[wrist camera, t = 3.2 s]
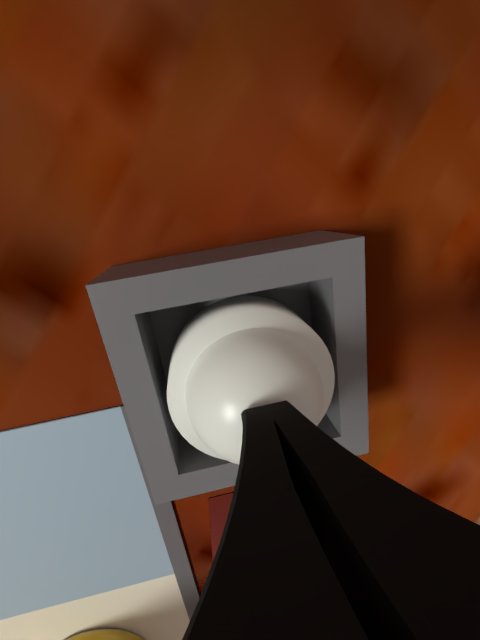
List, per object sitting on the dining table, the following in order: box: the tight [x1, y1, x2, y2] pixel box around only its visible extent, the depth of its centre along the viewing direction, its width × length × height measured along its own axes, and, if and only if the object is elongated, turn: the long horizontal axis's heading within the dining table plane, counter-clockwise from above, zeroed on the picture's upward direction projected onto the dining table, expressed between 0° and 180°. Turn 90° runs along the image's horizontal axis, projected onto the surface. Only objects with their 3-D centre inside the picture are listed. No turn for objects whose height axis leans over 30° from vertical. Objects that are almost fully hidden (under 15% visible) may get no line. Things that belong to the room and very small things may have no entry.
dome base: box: [86, 230, 369, 505], centre depth 14 cm, size 9×9×4 cm
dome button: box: [167, 296, 335, 465], centre depth 11 cm, size 6×6×5 cm
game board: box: [0, 405, 200, 640], centre depth 19 cm, size 14×24×1 cm, turn 9°
